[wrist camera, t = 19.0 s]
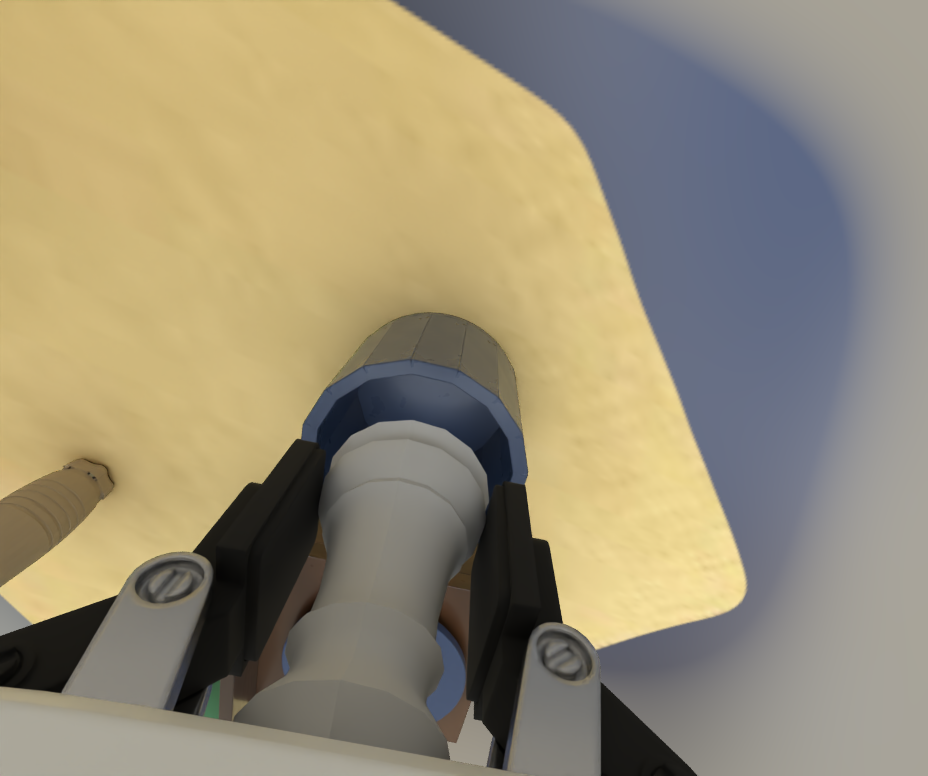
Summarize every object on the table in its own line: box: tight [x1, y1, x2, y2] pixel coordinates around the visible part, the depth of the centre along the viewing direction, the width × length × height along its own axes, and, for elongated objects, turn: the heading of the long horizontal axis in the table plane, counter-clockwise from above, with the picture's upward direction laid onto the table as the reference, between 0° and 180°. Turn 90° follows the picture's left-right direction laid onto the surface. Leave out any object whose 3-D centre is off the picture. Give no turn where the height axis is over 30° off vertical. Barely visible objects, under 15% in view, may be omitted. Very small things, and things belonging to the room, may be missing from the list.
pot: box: [301, 313, 528, 543], centre depth 26 cm, size 10×10×8 cm
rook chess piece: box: [233, 420, 489, 760], centre depth 10 cm, size 4×4×8 cm
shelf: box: [219, 519, 478, 743], centre depth 31 cm, size 15×14×10 cm
